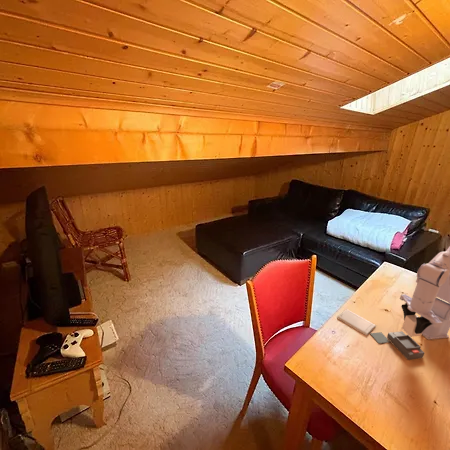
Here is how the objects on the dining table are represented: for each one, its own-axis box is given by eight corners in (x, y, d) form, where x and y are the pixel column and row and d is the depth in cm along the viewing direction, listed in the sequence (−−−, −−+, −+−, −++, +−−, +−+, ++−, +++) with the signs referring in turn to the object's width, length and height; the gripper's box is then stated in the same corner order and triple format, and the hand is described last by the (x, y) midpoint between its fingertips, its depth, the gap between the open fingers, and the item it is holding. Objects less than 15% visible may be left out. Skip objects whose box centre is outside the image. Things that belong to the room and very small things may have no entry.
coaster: (381, 332, 97) (381, 332, 97) (390, 342, 93) (390, 341, 93) (370, 334, 97) (370, 333, 97) (378, 343, 92) (378, 342, 92)
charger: (411, 327, 89) (416, 314, 87) (420, 335, 86) (425, 322, 84) (401, 328, 89) (406, 315, 87) (410, 336, 85) (415, 323, 83)
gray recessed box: (400, 336, 96) (402, 329, 94) (422, 357, 86) (425, 350, 85) (386, 337, 95) (389, 330, 94) (407, 359, 86) (410, 352, 85)
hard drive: (337, 316, 105) (367, 333, 95) (346, 308, 109) (376, 324, 100) (336, 319, 105) (366, 336, 96) (346, 311, 110) (375, 327, 101)
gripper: (396, 285, 88) (387, 314, 93) (432, 312, 75) (419, 345, 80) (413, 283, 89) (404, 313, 94) (452, 311, 75) (438, 343, 80)
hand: (412, 327), depth 87 cm, fingers closed on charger, 4 cm apart
